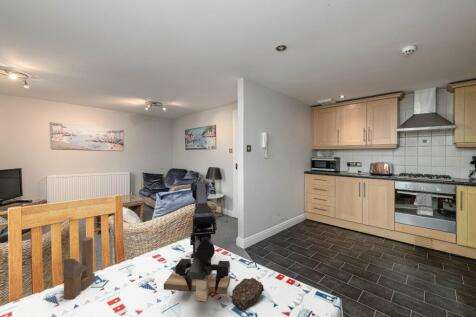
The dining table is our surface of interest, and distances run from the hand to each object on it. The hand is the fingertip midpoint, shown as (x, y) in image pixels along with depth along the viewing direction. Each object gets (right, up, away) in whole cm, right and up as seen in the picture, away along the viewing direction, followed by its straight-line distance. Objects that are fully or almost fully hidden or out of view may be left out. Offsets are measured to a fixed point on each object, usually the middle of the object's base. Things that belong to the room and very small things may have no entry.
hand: (203, 291), depth 74 cm
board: (-3, -2, +8) cm, 9 cm away
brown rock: (+16, -2, 0) cm, 16 cm away
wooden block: (-47, -2, +4) cm, 47 cm away
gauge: (0, -2, +4) cm, 5 cm away
